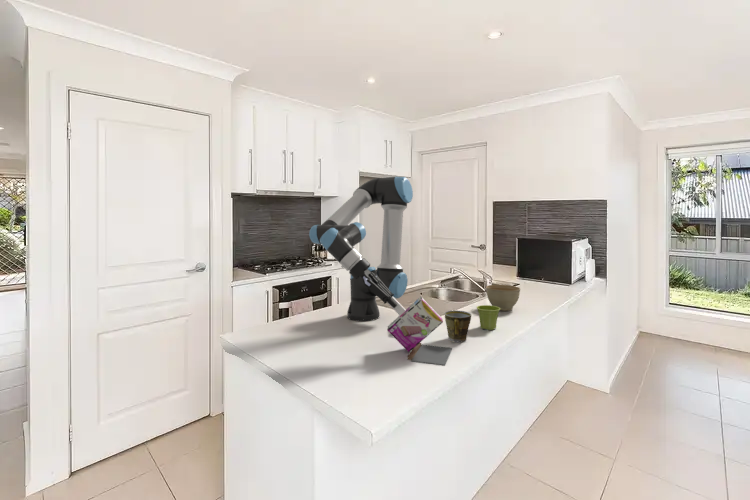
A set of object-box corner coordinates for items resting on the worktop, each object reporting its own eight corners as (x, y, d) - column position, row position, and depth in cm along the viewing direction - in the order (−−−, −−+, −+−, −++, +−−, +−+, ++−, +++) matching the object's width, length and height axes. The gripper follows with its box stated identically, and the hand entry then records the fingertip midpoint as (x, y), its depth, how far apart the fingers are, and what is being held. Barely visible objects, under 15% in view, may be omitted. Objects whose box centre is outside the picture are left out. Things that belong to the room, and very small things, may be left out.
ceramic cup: (445, 334, 151) (446, 309, 150) (471, 336, 148) (472, 311, 147) (441, 345, 138) (442, 318, 137) (470, 347, 135) (470, 320, 134)
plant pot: (473, 325, 162) (473, 305, 162) (494, 324, 163) (494, 304, 162) (481, 331, 153) (481, 310, 152) (503, 331, 154) (504, 310, 153)
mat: (411, 361, 123) (411, 360, 123) (422, 345, 138) (422, 344, 138) (444, 365, 120) (444, 364, 120) (452, 348, 135) (452, 347, 135)
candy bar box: (386, 330, 130) (421, 298, 128) (387, 326, 135) (420, 295, 133) (409, 353, 131) (444, 321, 129) (408, 348, 136) (442, 317, 134)
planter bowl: (524, 312, 181) (525, 290, 180) (491, 313, 181) (491, 290, 180) (513, 304, 197) (513, 284, 196) (481, 305, 197) (482, 284, 196)
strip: (407, 359, 125) (407, 356, 125) (417, 345, 138) (417, 342, 138) (411, 360, 124) (411, 356, 124) (421, 346, 137) (421, 342, 137)
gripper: (353, 269, 140) (398, 315, 138) (343, 274, 128) (392, 325, 126) (367, 255, 139) (412, 301, 137) (358, 259, 126) (408, 310, 124)
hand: (403, 312), depth 131 cm, fingers closed
